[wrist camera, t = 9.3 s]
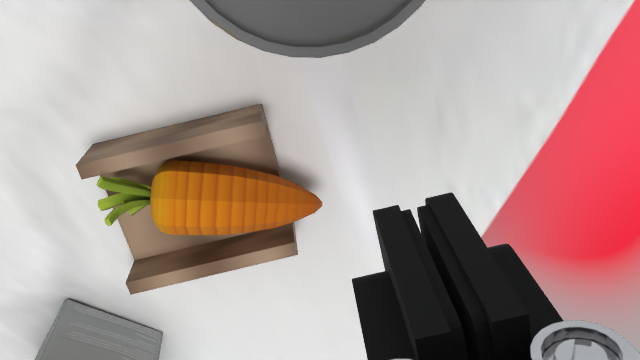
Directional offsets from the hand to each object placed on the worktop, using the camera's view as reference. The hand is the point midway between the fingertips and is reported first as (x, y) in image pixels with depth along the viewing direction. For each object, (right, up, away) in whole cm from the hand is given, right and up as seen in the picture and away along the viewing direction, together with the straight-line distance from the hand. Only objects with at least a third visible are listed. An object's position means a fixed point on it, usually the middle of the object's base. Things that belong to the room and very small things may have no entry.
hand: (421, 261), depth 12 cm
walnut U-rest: (-11, +1, +29) cm, 31 cm away
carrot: (-2, 0, +27) cm, 27 cm away
